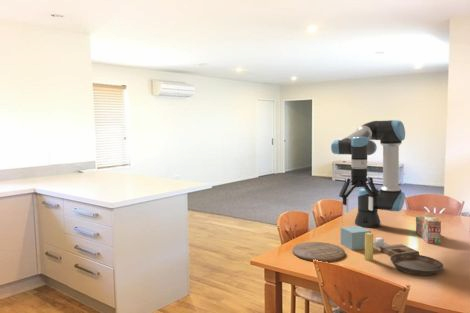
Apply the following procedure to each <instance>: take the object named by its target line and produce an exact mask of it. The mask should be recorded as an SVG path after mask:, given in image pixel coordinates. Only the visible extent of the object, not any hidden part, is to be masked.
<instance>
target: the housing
mask: <svg viewBox="0 0 470 313" xmlns="http://www.w3.org/2000/svg"><path fill="white" fill-rule="evenodd" d="M365 233H372V231H371V230H370V229H367V228H366V227H362V226H358V225H354V226H353V225H352V226H343V227H342V226H341V227H340V245H342V246H344V247H345V248H346V249H349V250H351V251H357V250H358V251H359V250H365Z"/></svg>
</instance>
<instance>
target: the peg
mask: <svg viewBox="0 0 470 313" xmlns="http://www.w3.org/2000/svg"><path fill="white" fill-rule="evenodd" d="M373 243H374V233H372V232H371V233H365V249H364V260H365V261H369V262H370V261H373V260H374V246H373Z"/></svg>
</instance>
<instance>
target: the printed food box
mask: <svg viewBox="0 0 470 313" xmlns="http://www.w3.org/2000/svg"><path fill="white" fill-rule="evenodd" d="M441 229H442V220H440V219H439V218H438V217H435V216H434V215H426V214H425V215H424V214H421V215H420V216H416V217H415V232H416V233H417V234H418V236H419V237H421V238H422V239H423V240H424V241H425V242H426V243H427V244H436V245H437V244H438V245H439V244H440V245H441V232H442V231H441Z"/></svg>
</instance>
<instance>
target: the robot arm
mask: <svg viewBox="0 0 470 313" xmlns="http://www.w3.org/2000/svg"><path fill="white" fill-rule="evenodd" d="M405 138H406V129H405V125H404V123H403V122H402V121H401V120H398V119H396V120H394V119H392V120H391V119H389V120H372V121H369V122H366V123H363V124H362V125H360V126H358V127H357V129H356V130H355V131H354V132H352V133H350V134H349V135H347V136H345V137H344V138H342V139H341V140H340V139H335V140H332V141H331V146H330V149H331V152H332V153H333V154H334V155H348V156H349V155H351V162H350V167H351V170H350V176H351V178H348V177H345V178H344V183H343V185H342V188H341V190H340V192H339V194H338V196H339V197H340V198H342V205H343V211H344V212H345V213H349V196H350V194H352V192H353V191H354V190H355V188H360V189H358V191H357V213H356V215H355V219H354V225H355V226H360V227H363V228H378V227H380V226H381V220H380V216H379V213H378V210H381V211H390V212H400V211H401V210H402V209H403V207H404V204H405V198H406V197H405V196H406V194H405V192H403V191H402V188H401V187H400V186H399V185H400V184H399V183H400V182H399V179H400V178H399V175H400V174H399V170H400V168H399V163H400V160H399V159H400V158H399V157H400V156H399V151H400V148H399V147H400V145H402V141H404V140H405ZM375 141H380V143H379V144H380V145H381V146H382V149H383V150H382V186H381V187H380V189H379V188H378V187H377V186H375V184H374V179H373V177H370V176H368V169H367V168H368V156H370V155H374V154H375V153H376V151H377V150H378V149H377V148H378V147H377V144H376V142H375ZM367 176H368V177H367ZM367 182H368V183H367ZM350 183H351V184H350Z"/></svg>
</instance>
